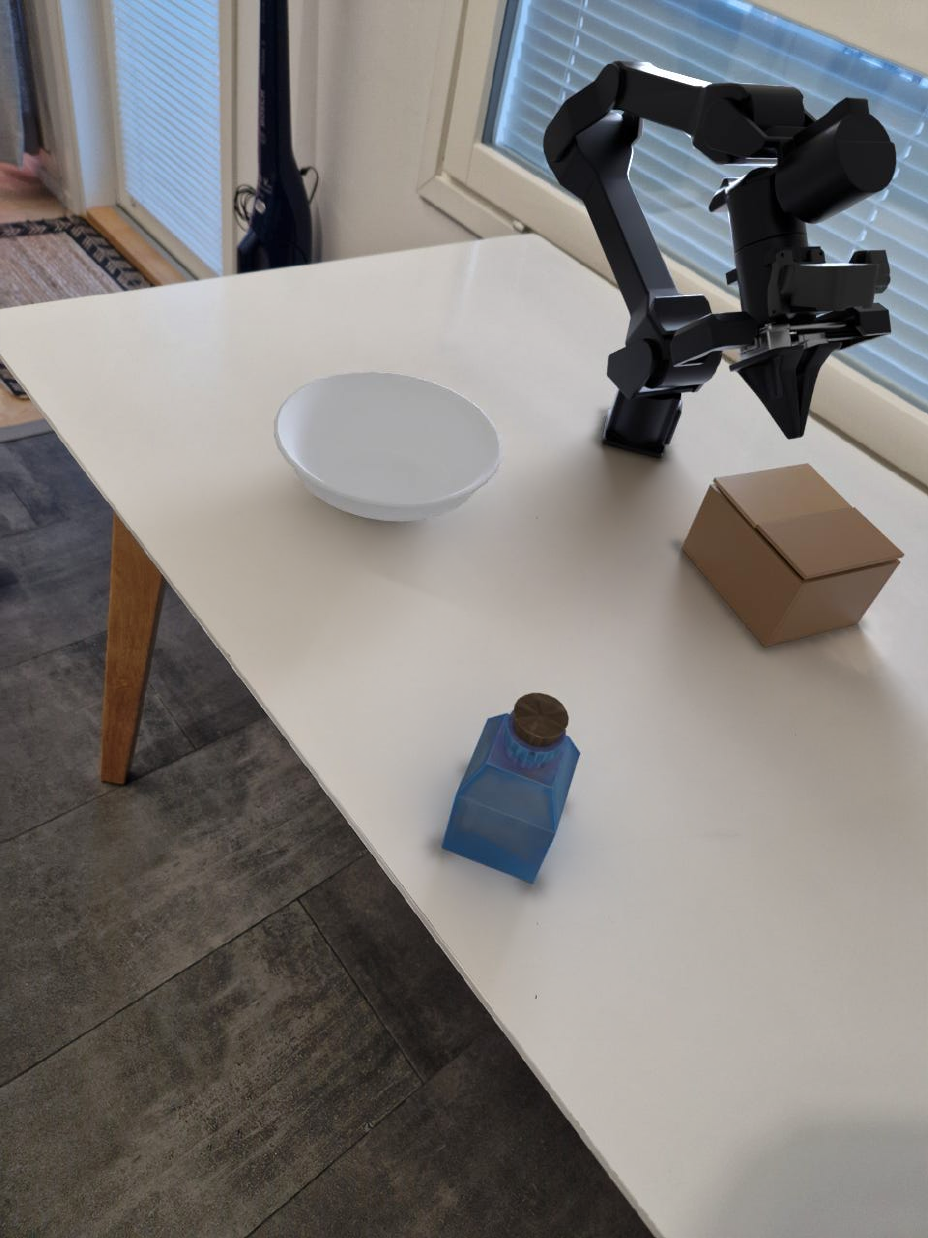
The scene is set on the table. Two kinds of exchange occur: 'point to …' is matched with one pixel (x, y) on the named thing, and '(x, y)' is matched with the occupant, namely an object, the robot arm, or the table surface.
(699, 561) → the carton
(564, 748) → the perfume bottle
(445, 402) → the bowl
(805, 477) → the flap
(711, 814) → the table surface
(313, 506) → the table surface
